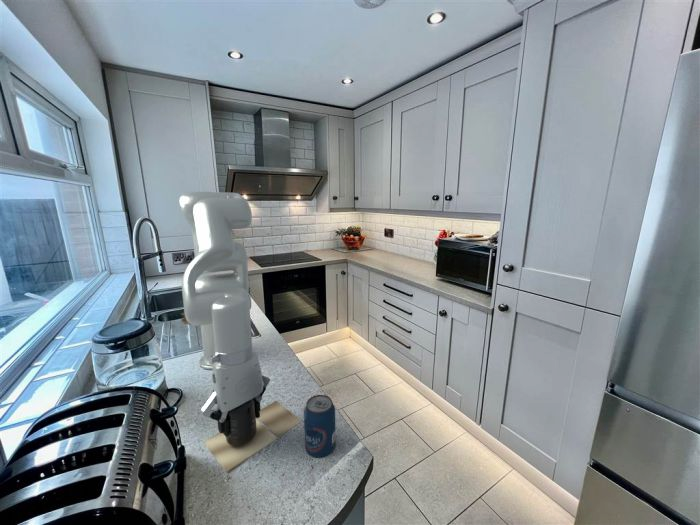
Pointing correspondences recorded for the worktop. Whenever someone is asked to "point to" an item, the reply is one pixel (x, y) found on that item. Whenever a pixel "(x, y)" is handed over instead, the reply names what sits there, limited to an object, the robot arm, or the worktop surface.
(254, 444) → the plank
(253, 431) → the supplement bottle
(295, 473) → the worktop surface
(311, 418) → the soda can
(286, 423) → the laid board
